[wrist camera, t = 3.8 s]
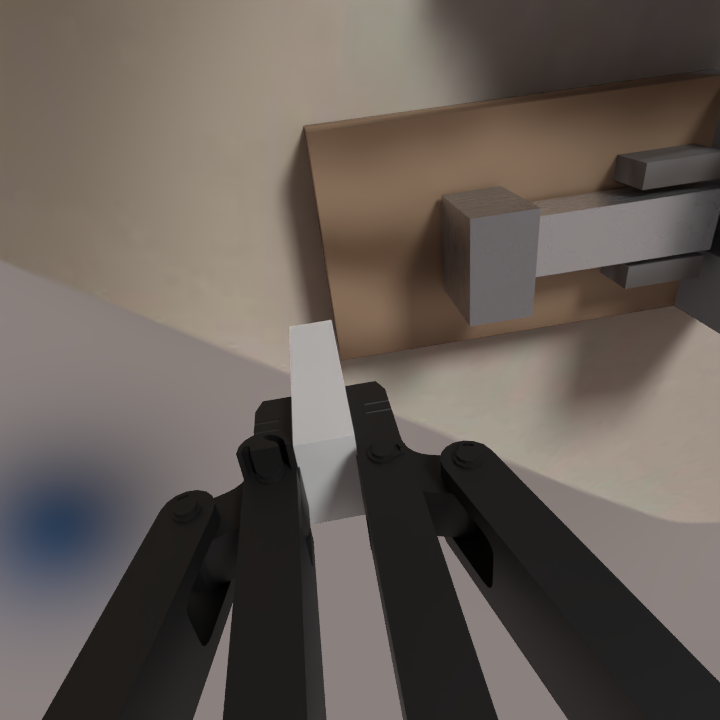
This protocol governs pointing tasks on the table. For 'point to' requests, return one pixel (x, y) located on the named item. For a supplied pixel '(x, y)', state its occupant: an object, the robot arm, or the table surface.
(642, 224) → the bolt
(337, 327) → the door leaf
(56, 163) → the table surface
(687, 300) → the door jamb
